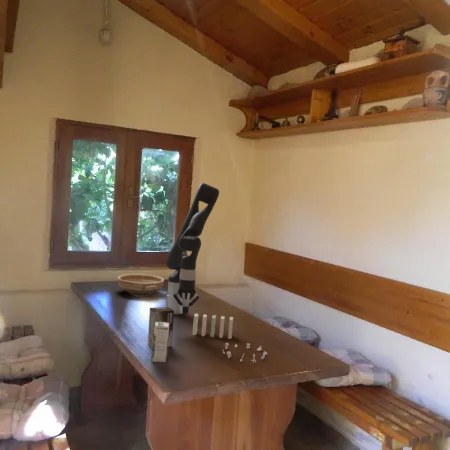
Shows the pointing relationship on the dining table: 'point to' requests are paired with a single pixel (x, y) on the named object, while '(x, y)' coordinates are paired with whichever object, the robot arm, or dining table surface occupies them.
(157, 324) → the syrup box
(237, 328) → the dining table surface
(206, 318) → the domino
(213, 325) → the domino
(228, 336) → the domino
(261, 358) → the game piece set
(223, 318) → the domino
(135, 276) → the ceramic bowl
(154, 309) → the coffee box
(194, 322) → the domino
